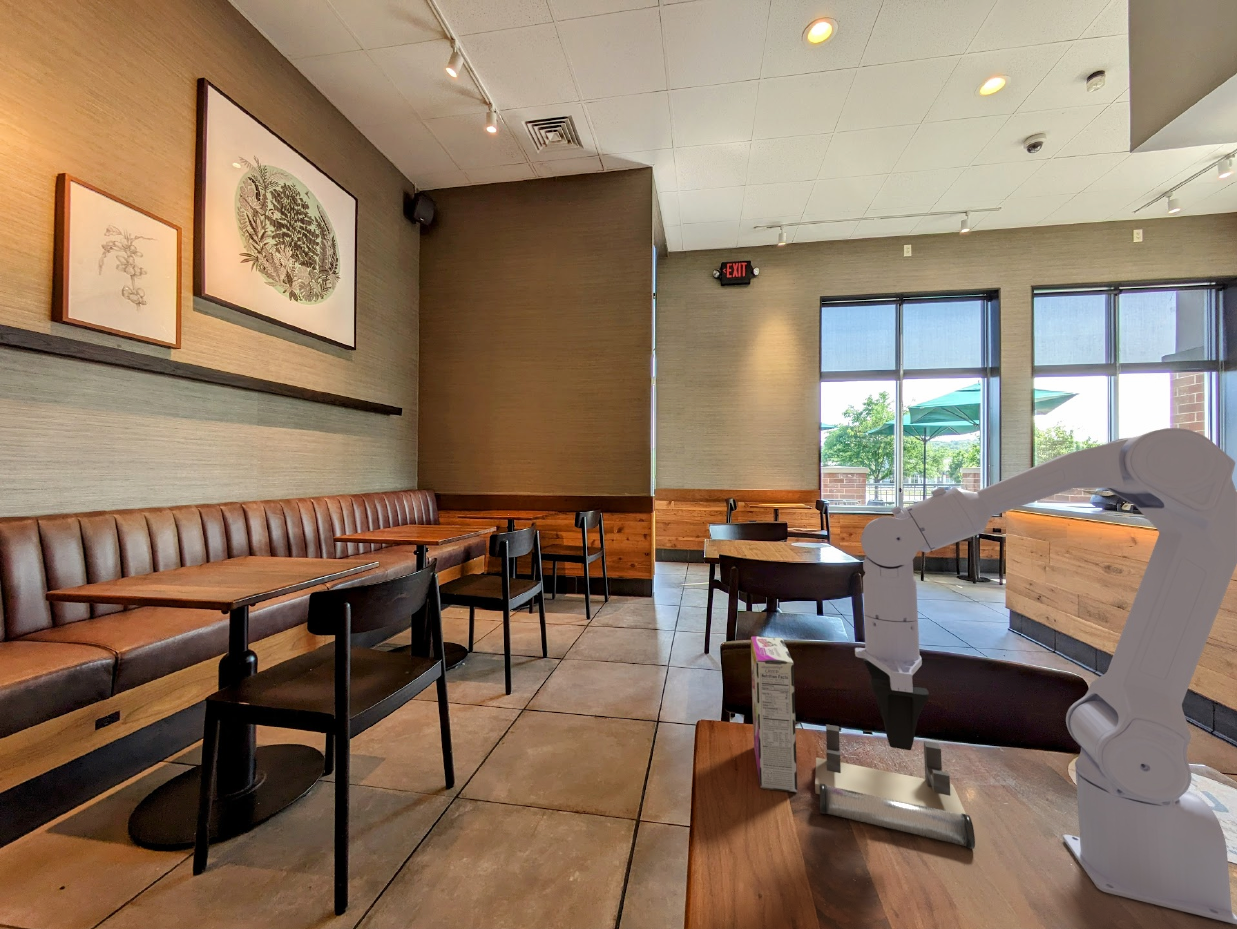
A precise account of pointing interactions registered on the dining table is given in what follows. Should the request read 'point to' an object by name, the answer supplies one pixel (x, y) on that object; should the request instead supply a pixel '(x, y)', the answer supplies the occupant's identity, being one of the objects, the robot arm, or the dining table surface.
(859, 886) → the dining table surface
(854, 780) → the rack
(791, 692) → the candy bar box
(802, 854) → the dining table surface
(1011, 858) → the dining table surface
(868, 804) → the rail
